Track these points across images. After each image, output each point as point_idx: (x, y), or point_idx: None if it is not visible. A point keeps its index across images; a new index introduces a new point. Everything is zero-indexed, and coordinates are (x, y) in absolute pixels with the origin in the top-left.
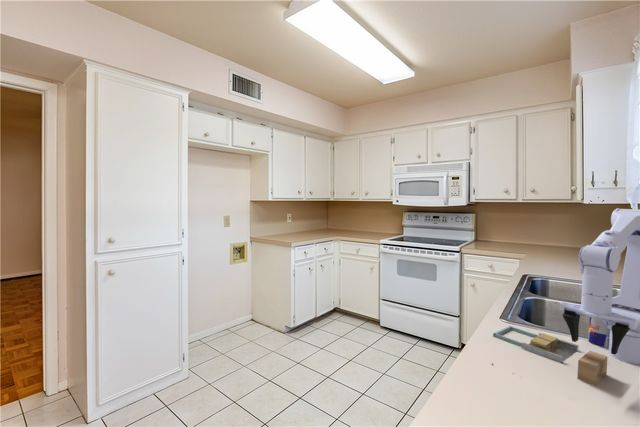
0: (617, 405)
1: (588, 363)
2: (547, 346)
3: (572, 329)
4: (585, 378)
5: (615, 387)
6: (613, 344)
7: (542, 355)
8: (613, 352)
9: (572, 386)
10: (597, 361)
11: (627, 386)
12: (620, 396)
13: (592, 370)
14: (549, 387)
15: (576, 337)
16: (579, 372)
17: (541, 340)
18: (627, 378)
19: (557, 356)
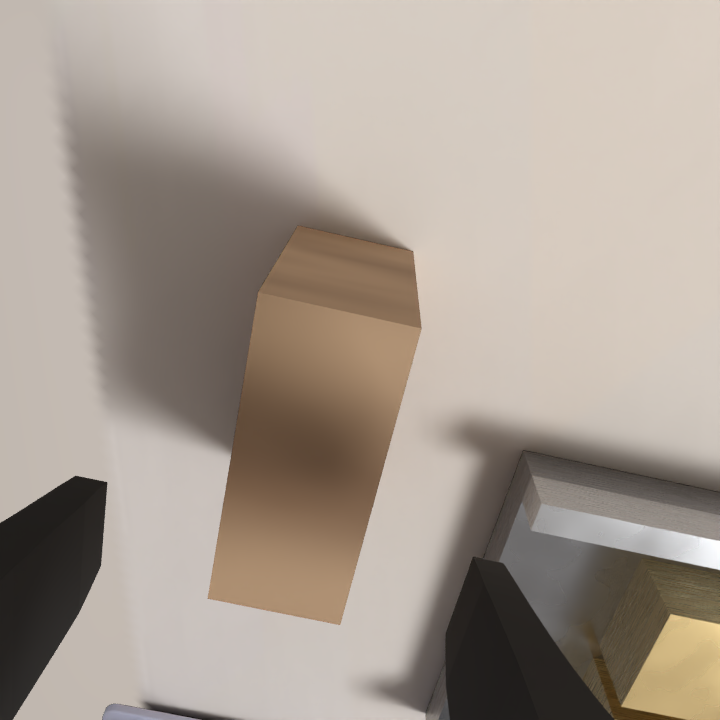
0: (155, 115)
1: (329, 305)
2: (648, 626)
3: (547, 685)
4: (358, 262)
5: (198, 403)
6: (16, 545)
7: (668, 506)
8: (74, 486)
9: (441, 189)
10: (263, 419)
11: (144, 471)
12: (158, 286)
13: (299, 278)
14: (608, 8)
15: (467, 628)
16: (403, 279)
17: (701, 685)
18: (158, 581)
19: (570, 508)
